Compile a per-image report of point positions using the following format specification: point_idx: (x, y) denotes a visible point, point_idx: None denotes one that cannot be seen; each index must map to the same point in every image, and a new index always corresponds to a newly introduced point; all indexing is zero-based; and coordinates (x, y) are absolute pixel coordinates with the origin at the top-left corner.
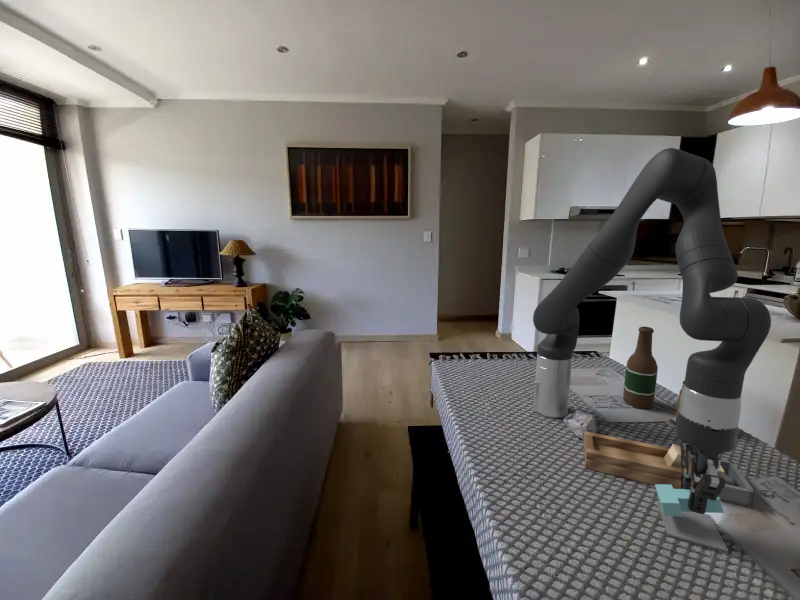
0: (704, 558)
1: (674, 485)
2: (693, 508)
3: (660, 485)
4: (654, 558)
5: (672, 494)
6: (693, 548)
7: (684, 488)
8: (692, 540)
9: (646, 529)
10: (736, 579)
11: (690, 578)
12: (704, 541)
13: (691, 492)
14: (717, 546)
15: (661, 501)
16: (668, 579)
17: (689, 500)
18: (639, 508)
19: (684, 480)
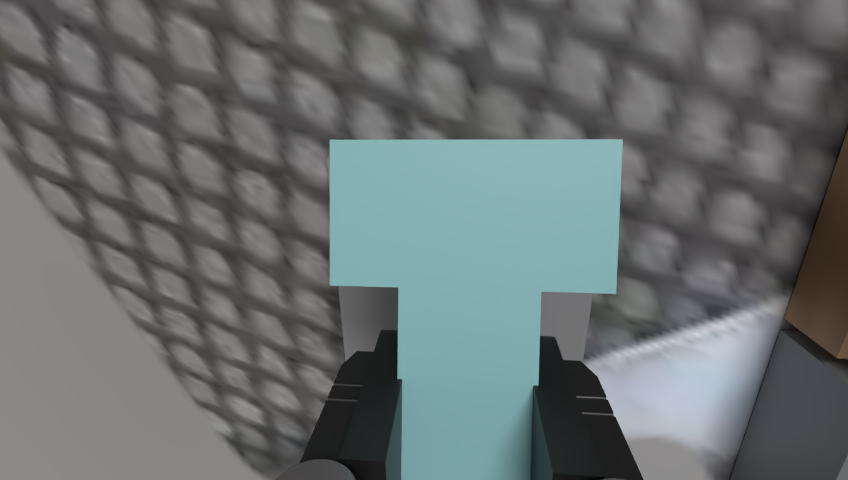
0: (262, 279)
1: (816, 304)
2: (349, 363)
3: (599, 189)
4: (115, 47)
5: (456, 262)
6: (303, 253)
7: (543, 387)
8: None
9: (325, 42)
10: (213, 353)
11: (100, 189)
12: (358, 312)
13: (341, 451)
14: (354, 352)
15: (348, 145)
16: (23, 90)
17: (383, 372)
18: (517, 29)
19: (846, 384)
